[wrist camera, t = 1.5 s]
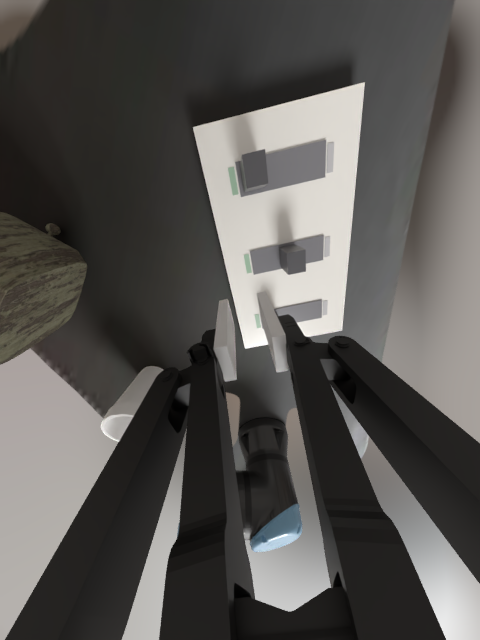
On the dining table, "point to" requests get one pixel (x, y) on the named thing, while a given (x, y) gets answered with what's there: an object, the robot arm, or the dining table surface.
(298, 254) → the handle
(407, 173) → the dining table surface
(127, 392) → the foam cup
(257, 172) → the handle
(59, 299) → the tabletop clock
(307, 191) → the breaker panel
